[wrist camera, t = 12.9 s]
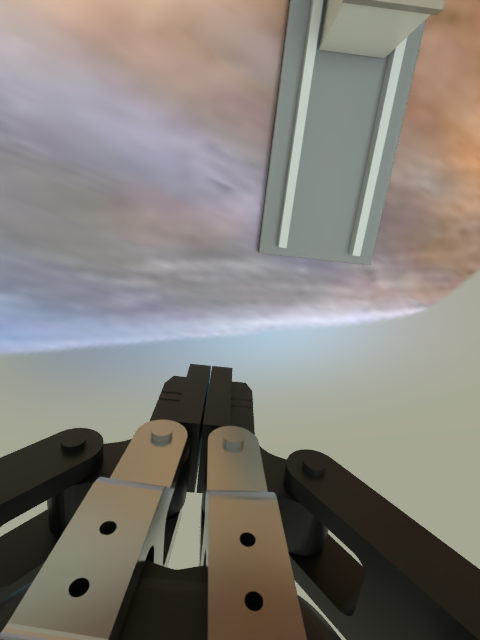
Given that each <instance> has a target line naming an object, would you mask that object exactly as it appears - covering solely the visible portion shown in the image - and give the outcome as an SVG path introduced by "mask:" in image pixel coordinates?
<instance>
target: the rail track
mask: <svg viewBox="0 0 480 640" xmlns="http://www.w3.org/2000/svg"><path fill="white" fill-rule="evenodd" d="M325 4H326V0H290V2H289V10H288V18H287V26H286V34H285V42H284V50H283V58H282V66H281V74H280V82H279V90H278V98H277V106H276V114H275V122H274V130H273V138H272V146H271V154H270V162H269V170H268V178H267V186H266V194H265V203H264V211H263V219H262V227H261V235H260V243H259V253H265V254H274V255H283V256H292V257H301V258H310V259H319V260H328V261H337V262H346V263H355V264H365V265H371V260H372V256H373V252H374V247H375V243H376V238H377V234H378V229H379V225H380V221H381V216H382V212H383V207H384V203H385V198H386V194H387V190H388V185H389V181H390V176H391V172H392V168H393V163H394V159H395V154H396V150H397V145H398V141H399V137H400V132H401V128H402V123H403V119H404V114H405V110H406V106H407V101H408V97H409V92H410V88H411V83H412V79H413V75H414V70H415V66H416V61H417V57H418V52H419V48H420V44H421V39H422V35H423V30H424V26H425V21H426V20H425V21H423V22H422V23H421V24H420V25H419V26H418V27H417V28H416V29H415V30H414V31H413V32H412V33H411V34H410V35H409V36H408V37H406V38H405V39H404V40H403V41H402V42H401V43H400V44H399V45H398V46H397V47H396V48H395V49H394V50H393V51H392V52H391V53H390V54H388V55H387V56H386V57H385V58H378V57H371V56H363V55H355V54H348V53H340V52H332V51H324V50H319V43H320V37H321V30H322V24H323V17H324V10H325Z"/></svg>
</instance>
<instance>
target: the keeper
mask: <svg viewBox="0 0 480 640" xmlns="http://www.w3.org/2000/svg"><path fill="white" fill-rule="evenodd" d="M444 2H445V0H326V4H325V10H324V17H323V24H322V30H321V37H320V43H319V50H324V51H332V52H340V53H348V54H355V55H363V56H371V57H378V58H385V57H386V56H387V55H388V54H390V53H391V52H392V51H393V50H394V49H395V48H396V47H397V46H398V45H399V44H400V43H401V42H402V41H403V40H404V39H405V38H406V37H408V36H409V35H410V34H411V33H412V32H413V31H414V30H415V29H416V28H417V27H418V26H419V25H420V24H421V23H422V22H423V21H425V20H426V19H427V18H428V17H429V16H430V15H437V14H438V13H439V12H441V11H442V10H443V6H444Z"/></svg>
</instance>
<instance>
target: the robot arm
mask: <svg viewBox="0 0 480 640" xmlns="http://www.w3.org/2000/svg"><path fill="white" fill-rule="evenodd" d="M210 369H211V366H206V365H196V364H190V367H189V370H188V374H187V377H179V376H173V377H172V378H171V379H169V380H168V381H167V382H165V384H164V387H163V389H162V393H161V394H160V397H159V400H158V402H157V404H156V407H155V409H154V412H153V414H152V417H151V419H150V422H147V423H145V424H143V425H142V426H140V427H139V428H138V430H137V431H136V433H135V435H134V436H133V438H132V439H130V440H127V441H122V442H117V443H108V444H103V438H102V436H101V435H100V434H99V433H98V432H96V431H94V430H91V429H86V428H74V429H69V430H65V431H62V432H60V433H57V434H55V435H53V436H50V437H48V438H46V439H43V440H41V441H39V442H36V443H34V444H32V445H29V446H27V447H25V448H22V449H20V450H18V451H15V452H13V453H11V454H8V455H6V456H4V457H1V458H0V527H1V526H2V525H3V524H5V523H7V522H8V521H10V520H12V519H14V518H15V517H17V516H19V515H21V514H23V513H25V512H26V511H28V510H30V509H32V508H33V507H35V506H37V505H39V504H41V503H42V502H44V501H46V500H47V506H48V510H46V511H44V512H42V513H41V514H39V515H37V516H36V517H34V518H32V519H30V520H29V521H27V522H25V523H23V524H22V525H20V526H18V527H17V528H15V529H13V530H11V531H10V532H8V533H6V534H4V535H3V536H1V537H0V640H341V639H340V637H339V636H338V635H337V634H336V632H335V631H334V630H333V629H332V628H331V626H330V625H329V624H328V623H327V621H326V620H325V619H324V618H323V617H322V615H321V614H319V612H318V611H316V609H315V608H313V606H311V605H310V604H309V603H308V602H306V601H305V600H304V599H303V598H301V597H300V596H298V595H297V591H296V586H295V581H296V582H297V583H298V584H299V585H300V586H301V588H302V589H303V590H304V591H305V592H306V593H307V594H308V596H309V597H310V598H311V599H312V600H313V601H314V603H315V604H316V605H317V606H318V607H319V609H320V610H321V611H322V612H323V613H324V614H325V615H326V617H327V618H328V619H329V620H330V621H331V622H332V624H333V625H334V626H335V627H336V628H337V629H338V630H339V632H340V633H341V634H342V635H343V636H344V637H345V639H346V640H480V569H478V568H477V567H476V566H474V565H473V564H472V563H470V562H469V561H468V560H466V559H465V558H464V557H462V556H461V555H460V554H458V553H457V552H456V551H454V550H453V549H452V548H450V547H449V546H448V545H446V544H445V543H444V542H442V541H441V540H440V539H438V538H437V537H436V536H434V535H433V534H432V533H430V532H429V531H428V530H426V529H425V528H424V527H422V526H421V525H419V524H418V523H417V522H416V521H414V520H413V519H412V518H410V517H409V516H408V515H406V514H405V513H404V512H402V511H401V510H400V509H398V508H397V507H396V506H394V505H393V504H392V503H390V502H389V501H388V500H386V499H385V498H384V497H382V496H381V495H380V494H378V493H377V492H376V491H374V490H373V489H372V488H370V487H369V486H368V485H366V484H365V483H364V482H362V481H361V480H359V479H358V478H357V477H356V476H354V475H353V474H351V473H350V472H349V471H348V470H346V469H345V468H343V467H342V466H341V465H339V464H338V463H337V462H336V461H334V460H333V459H332V458H330V457H329V456H327V455H325V454H323V453H321V452H317V451H314V450H298V451H295V452H293V453H292V454H290V455H289V457H288V459H287V460H286V459H283V458H280V457H277V456H274V455H272V454H270V453H268V452H266V451H265V450H263V449H262V448H261V447H260V446H259V443H258V439H257V438H256V436H255V434H254V416H253V401H252V400H253V399H252V390H251V389H250V388H249V387H248V385H247V384H246V383H241V382H232V368H227V367H217V366H212V372H211V377H210ZM209 381H210V383H209ZM199 459H200V462H199ZM198 466H199V473H198V485H197V493H203V495H202V506H201V516H200V541H199V566H198V567H193V568H187V569H181V570H174V569H170V568H167V567H168V563H169V559H170V556H171V552H172V548H173V545H174V541H175V538H176V534H177V530H178V527H179V523H180V520H181V515H182V507H183V505H184V502H185V498H186V492H195V485H196V478H197V472H198ZM328 529H329V530H330V531H331V532H332V533H333V534H334V535H335V536H336V537H337V538H338V539H340V540H341V541H342V542H343V543H344V544H345V545H346V546H347V547H348V548H349V549H350V550H351V551H352V552H353V553H354V554H355V555H356V556H357V557H358V558H359V560H360V562H361V563H362V566H363V567H362V566H361V565H360V564H359V563H358V562H357V561H356V560H355V559H354V558H353V557H352V556H351V555H350V554H349V553H347V551H346V550H344V549H343V548H342V547H341V546H340V545H339V544H338V543H337V542H336V541H335V540H334V539H333V538H332V537H331V536H330V535H328ZM294 580H295V581H294Z"/></svg>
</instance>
